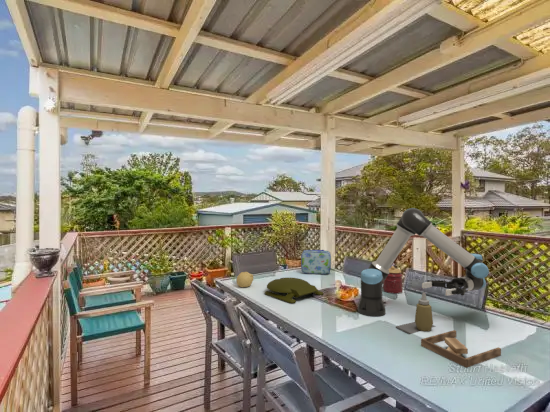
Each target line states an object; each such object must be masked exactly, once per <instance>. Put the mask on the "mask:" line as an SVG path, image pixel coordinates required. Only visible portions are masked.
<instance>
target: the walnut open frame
mask: <svg viewBox="0 0 550 412" xmlns="http://www.w3.org/2000/svg"><path fill="white" fill-rule="evenodd" d="M445 338H457V330H455V329H454V330H449V331H446V332H443V333H439V334H435V335H431V336H428V337H423V338H420V346H421V347H422V348H425V349H427V350H429V351H430V352H434V353H435V354H437V355H440V356H441V357H443V358H446V359H447V360H449V361H452V362H453V363H456V364H458V365H460V366H462V367H463V368H470V367H473V366H476V365H478V364H481V363H483V362H486V361H489V360H491V359H494V358H498V357H500V356H502V348H501V347H495V348H492V349H489V350H486V351H483V352H481V353H477V354H474V355H471V356H468V357H466V358H465V357H464V356H462V355H461V356H459V355H457V354H455V353H453V352H451V351H448V350H446V349H447V348H444V347H442V346H441V345H440V346H439V345H438V344H437V343H440V342H445Z"/></svg>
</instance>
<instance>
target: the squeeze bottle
mask: <svg viewBox="0 0 550 412" xmlns="http://www.w3.org/2000/svg"><path fill="white" fill-rule="evenodd" d="M426 294H427V293H426V292H422V294H421V298H419V299H418V303H417V304H416V306H415V316H414V322H415V323H416V326H417V329H418V330H420V331H419V332H430V331H431V330H432V328H433V327H432V325H434V319H433V310H432V305H431V304H430V300H429V299H427V295H426Z"/></svg>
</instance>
